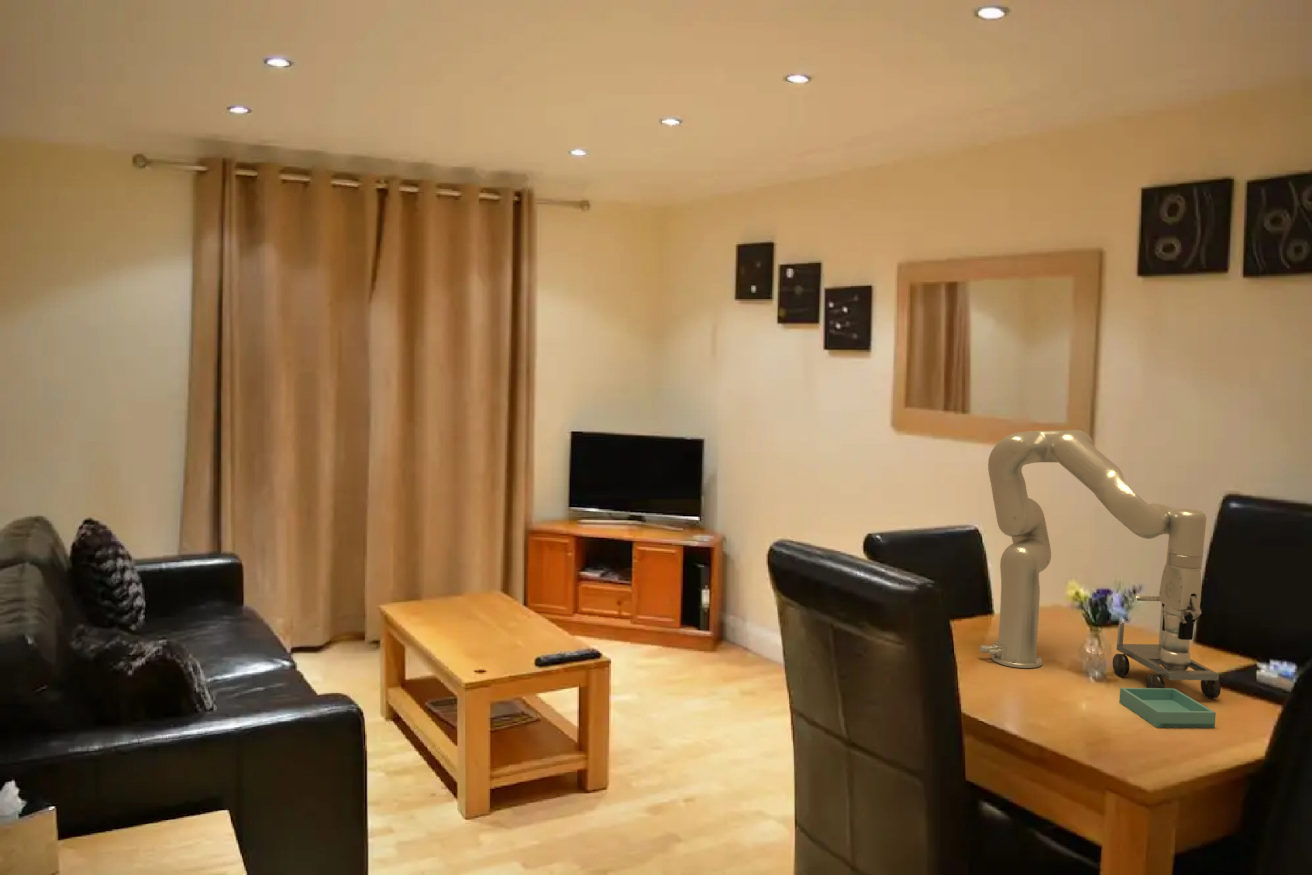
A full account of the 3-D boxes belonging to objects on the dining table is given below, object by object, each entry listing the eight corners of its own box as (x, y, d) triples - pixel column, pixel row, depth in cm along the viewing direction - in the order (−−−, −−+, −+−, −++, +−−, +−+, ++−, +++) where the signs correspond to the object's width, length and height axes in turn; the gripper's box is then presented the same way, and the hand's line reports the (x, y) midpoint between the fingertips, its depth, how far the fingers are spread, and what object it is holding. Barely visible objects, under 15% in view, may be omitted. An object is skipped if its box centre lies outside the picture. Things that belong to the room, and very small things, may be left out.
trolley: (1160, 702, 239) (1166, 620, 238) (1109, 670, 263) (1114, 595, 262) (1223, 703, 240) (1229, 620, 239) (1165, 670, 264) (1171, 596, 263)
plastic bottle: (1188, 675, 242) (1196, 593, 240) (1156, 669, 246) (1164, 588, 244) (1190, 669, 248) (1199, 587, 246) (1159, 663, 251) (1167, 583, 249)
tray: (1156, 727, 223) (1158, 712, 223) (1119, 702, 239) (1120, 687, 239) (1214, 728, 224) (1215, 712, 223) (1173, 702, 240) (1174, 688, 239)
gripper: (1149, 553, 253) (1142, 624, 254) (1189, 569, 235) (1182, 645, 237) (1178, 554, 253) (1171, 625, 255) (1221, 570, 236) (1213, 646, 238)
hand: (1177, 634), depth 246 cm, fingers closed on plastic bottle, 6 cm apart
